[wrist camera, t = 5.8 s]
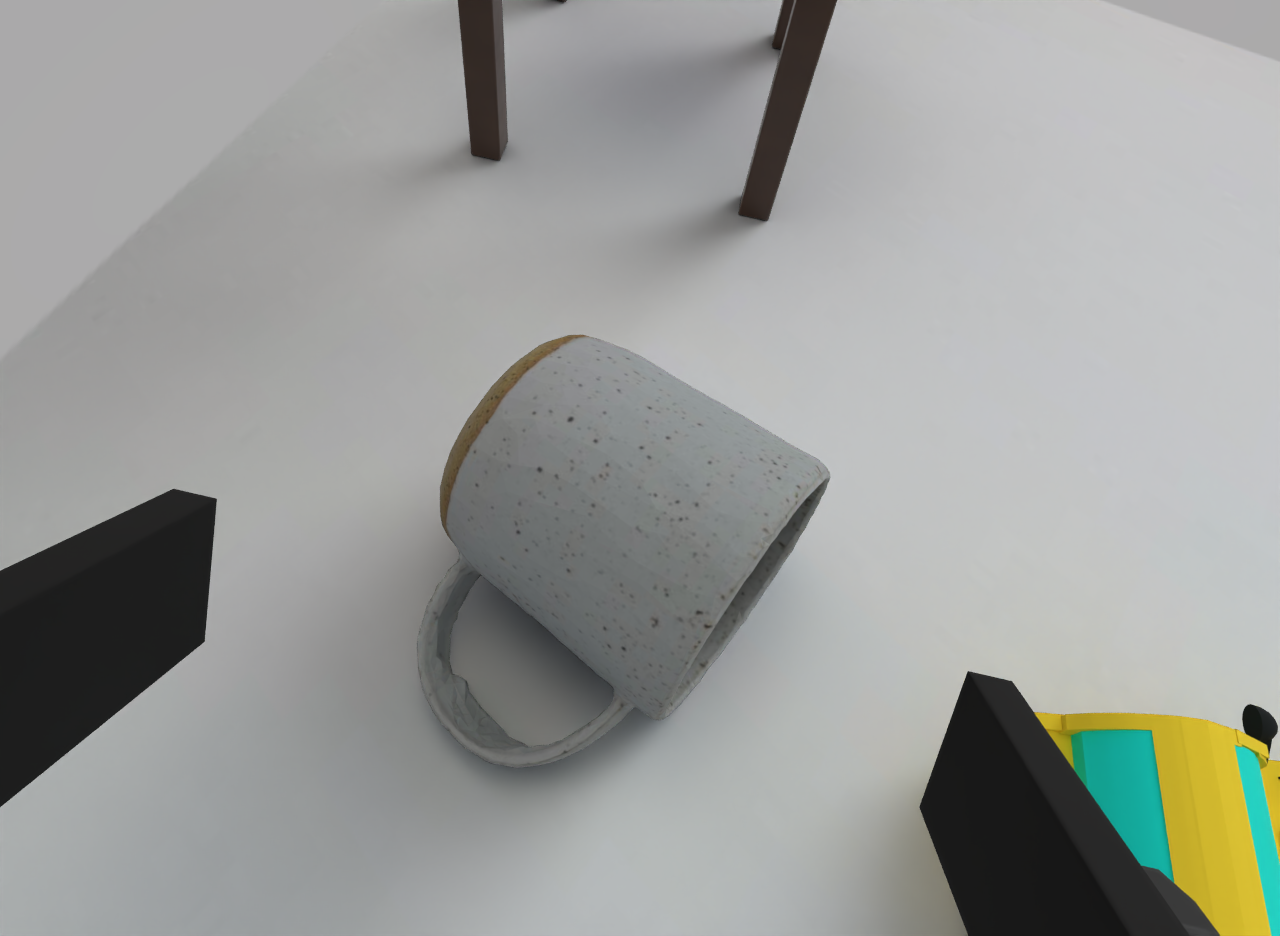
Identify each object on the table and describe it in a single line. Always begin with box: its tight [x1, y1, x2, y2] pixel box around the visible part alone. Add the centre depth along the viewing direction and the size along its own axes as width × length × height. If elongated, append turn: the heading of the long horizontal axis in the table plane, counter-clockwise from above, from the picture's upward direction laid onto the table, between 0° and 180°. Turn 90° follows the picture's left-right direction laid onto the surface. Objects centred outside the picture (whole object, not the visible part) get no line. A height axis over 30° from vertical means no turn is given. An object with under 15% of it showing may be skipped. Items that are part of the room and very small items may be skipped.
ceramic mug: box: [417, 335, 830, 768], centre depth 22 cm, size 11×8×8 cm
